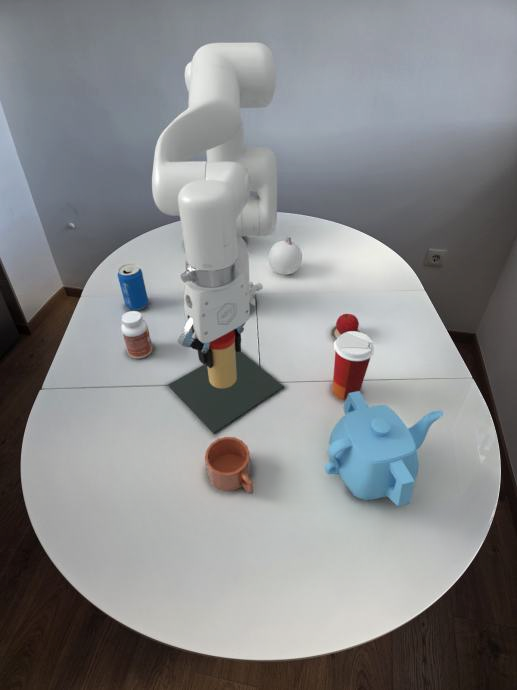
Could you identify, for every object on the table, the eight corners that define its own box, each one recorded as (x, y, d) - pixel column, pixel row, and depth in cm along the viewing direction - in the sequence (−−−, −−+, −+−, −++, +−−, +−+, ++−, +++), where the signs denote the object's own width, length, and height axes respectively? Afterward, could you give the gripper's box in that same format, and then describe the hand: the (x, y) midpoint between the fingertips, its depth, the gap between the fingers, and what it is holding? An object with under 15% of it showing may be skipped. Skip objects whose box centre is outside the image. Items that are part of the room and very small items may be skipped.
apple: (325, 339, 112) (328, 319, 108) (336, 322, 117) (339, 303, 113) (355, 349, 109) (359, 329, 105) (364, 331, 114) (368, 311, 110)
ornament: (306, 269, 137) (309, 234, 129) (290, 284, 131) (292, 249, 123) (278, 260, 142) (279, 226, 134) (262, 274, 135) (262, 240, 127)
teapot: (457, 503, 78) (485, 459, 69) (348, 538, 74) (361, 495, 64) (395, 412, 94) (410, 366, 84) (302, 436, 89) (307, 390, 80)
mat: (235, 348, 110) (235, 346, 109) (283, 387, 100) (283, 386, 99) (168, 386, 100) (168, 384, 100) (214, 434, 90) (213, 432, 90)
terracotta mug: (199, 469, 84) (196, 453, 80) (232, 446, 88) (231, 429, 84) (234, 511, 77) (233, 495, 74) (268, 484, 81) (269, 468, 78)
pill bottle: (156, 353, 108) (148, 318, 101) (133, 362, 106) (123, 328, 99) (147, 339, 112) (138, 305, 105) (124, 348, 110) (114, 314, 102)
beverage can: (121, 308, 122) (111, 272, 114) (134, 296, 127) (125, 261, 119) (140, 314, 121) (131, 277, 113) (153, 301, 125) (145, 265, 117)
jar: (225, 363, 83) (222, 319, 76) (243, 379, 80) (241, 334, 73) (202, 377, 80) (196, 332, 73) (219, 393, 77) (215, 349, 70)
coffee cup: (366, 382, 101) (377, 334, 90) (360, 408, 95) (372, 359, 85) (331, 374, 103) (338, 326, 93) (323, 399, 97) (330, 350, 87)
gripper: (177, 302, 58) (192, 391, 70) (272, 258, 66) (270, 344, 78) (149, 278, 62) (168, 366, 74) (241, 239, 70) (244, 324, 82)
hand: (220, 354), depth 76 cm, fingers closed on jar, 5 cm apart
